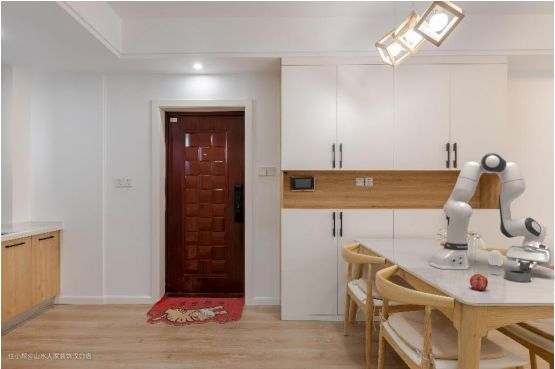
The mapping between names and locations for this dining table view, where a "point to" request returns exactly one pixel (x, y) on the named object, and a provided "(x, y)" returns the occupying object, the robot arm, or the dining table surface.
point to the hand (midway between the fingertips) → (524, 268)
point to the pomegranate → (478, 282)
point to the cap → (525, 266)
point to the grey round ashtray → (517, 275)
